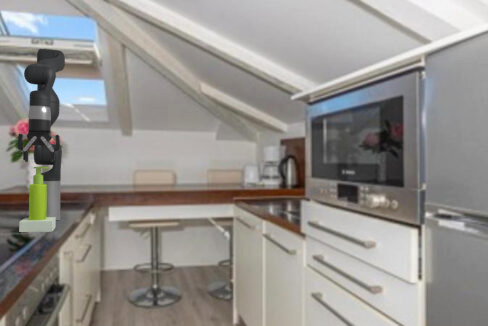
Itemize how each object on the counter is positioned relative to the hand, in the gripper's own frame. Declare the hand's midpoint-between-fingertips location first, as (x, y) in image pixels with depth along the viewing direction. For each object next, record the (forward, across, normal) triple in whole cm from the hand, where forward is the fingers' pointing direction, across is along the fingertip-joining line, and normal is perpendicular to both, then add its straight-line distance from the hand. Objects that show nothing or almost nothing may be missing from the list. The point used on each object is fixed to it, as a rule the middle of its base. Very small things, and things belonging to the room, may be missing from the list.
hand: (39, 161), depth 154 cm
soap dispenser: (+22, 0, 0) cm, 22 cm away
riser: (+26, 0, 0) cm, 26 cm away
